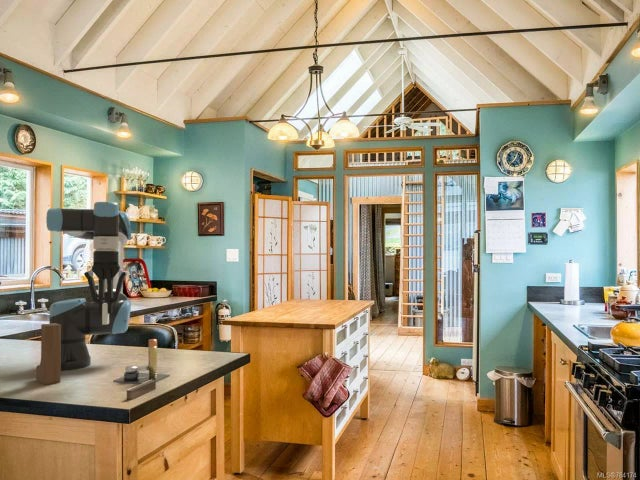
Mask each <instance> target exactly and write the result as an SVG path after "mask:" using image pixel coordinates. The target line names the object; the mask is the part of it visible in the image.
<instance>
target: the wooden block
mask: <svg viewBox="0 0 640 480" xmlns="http://www.w3.org/2000/svg"><path fill="white" fill-rule="evenodd" d="M40 326H41V330H40V331H41V333H40V334H41V335H40V336H41V338H40V344H41V345H40V363H39V365H37V366H36V370H35V371H36V373H35V375H36V376H35V378H36V379H35V380H36V381H38V382H40V383H41V384H43V385H53V384H58V383H61V371H62V370H61V325H60V324H57V323H51V324H50V323H43V324H41V325H40Z"/></svg>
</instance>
